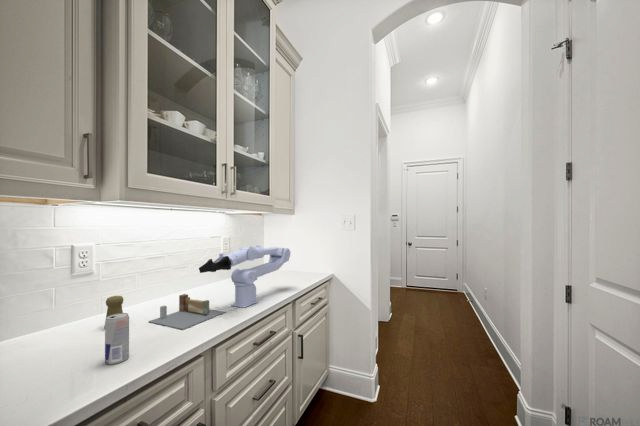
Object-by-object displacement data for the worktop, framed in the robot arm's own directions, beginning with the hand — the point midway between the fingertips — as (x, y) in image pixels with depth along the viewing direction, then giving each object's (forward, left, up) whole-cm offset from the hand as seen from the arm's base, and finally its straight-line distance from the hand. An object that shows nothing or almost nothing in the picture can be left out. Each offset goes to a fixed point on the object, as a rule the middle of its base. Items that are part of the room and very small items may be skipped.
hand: (205, 269), depth 109 cm
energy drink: (+34, +4, -19) cm, 39 cm away
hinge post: (-2, -15, -19) cm, 24 cm away
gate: (-2, -7, -18) cm, 20 cm away
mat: (+2, -7, -19) cm, 20 cm away
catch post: (+8, -15, -19) cm, 25 cm away
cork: (+20, -24, -19) cm, 37 cm away
